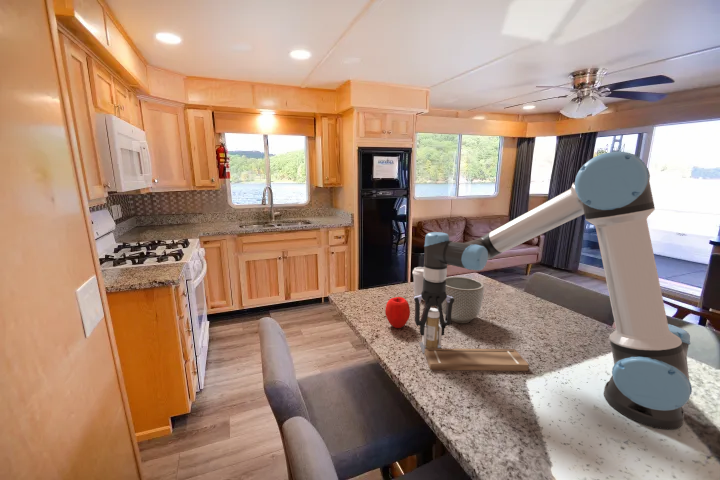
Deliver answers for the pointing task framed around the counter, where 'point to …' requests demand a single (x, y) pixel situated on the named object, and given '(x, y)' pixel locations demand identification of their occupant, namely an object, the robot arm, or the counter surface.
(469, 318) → the planter
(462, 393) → the counter surface
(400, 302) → the apple
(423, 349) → the end pad
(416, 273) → the coffee cup
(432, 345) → the spice jar
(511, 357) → the board
